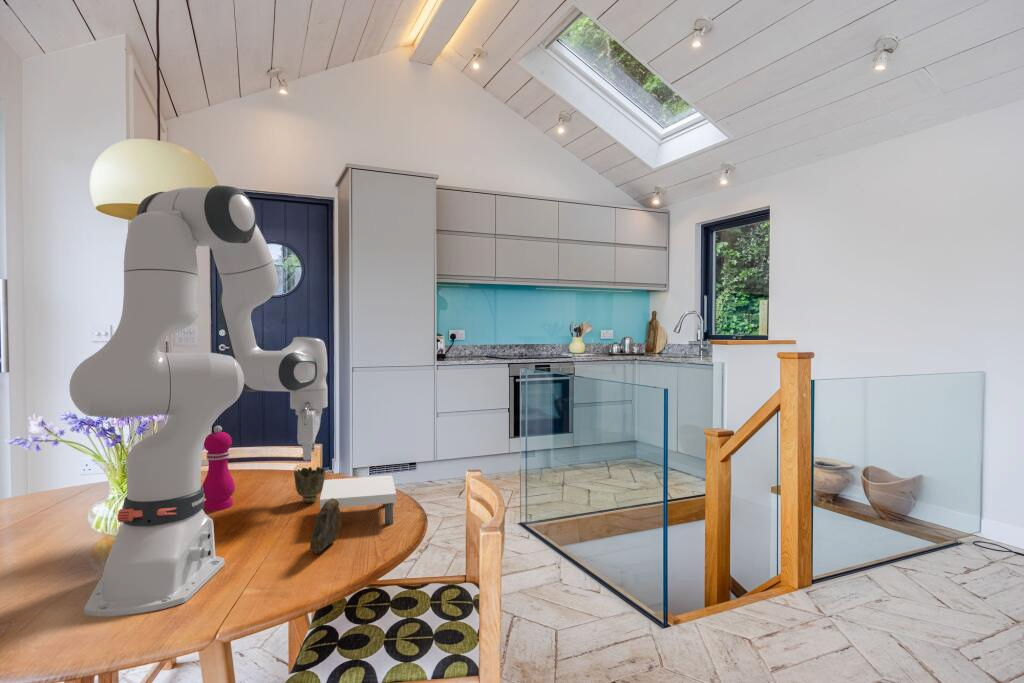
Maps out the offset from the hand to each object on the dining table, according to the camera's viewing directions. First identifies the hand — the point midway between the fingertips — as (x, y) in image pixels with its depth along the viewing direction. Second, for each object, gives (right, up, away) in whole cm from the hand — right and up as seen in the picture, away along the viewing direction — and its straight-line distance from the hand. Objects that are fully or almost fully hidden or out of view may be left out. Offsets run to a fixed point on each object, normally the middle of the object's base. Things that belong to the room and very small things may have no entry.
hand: (309, 455), depth 136 cm
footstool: (+16, -12, -11) cm, 23 cm away
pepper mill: (-20, -12, -5) cm, 24 cm away
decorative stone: (+15, -12, -30) cm, 36 cm away
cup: (0, -12, 0) cm, 12 cm away
